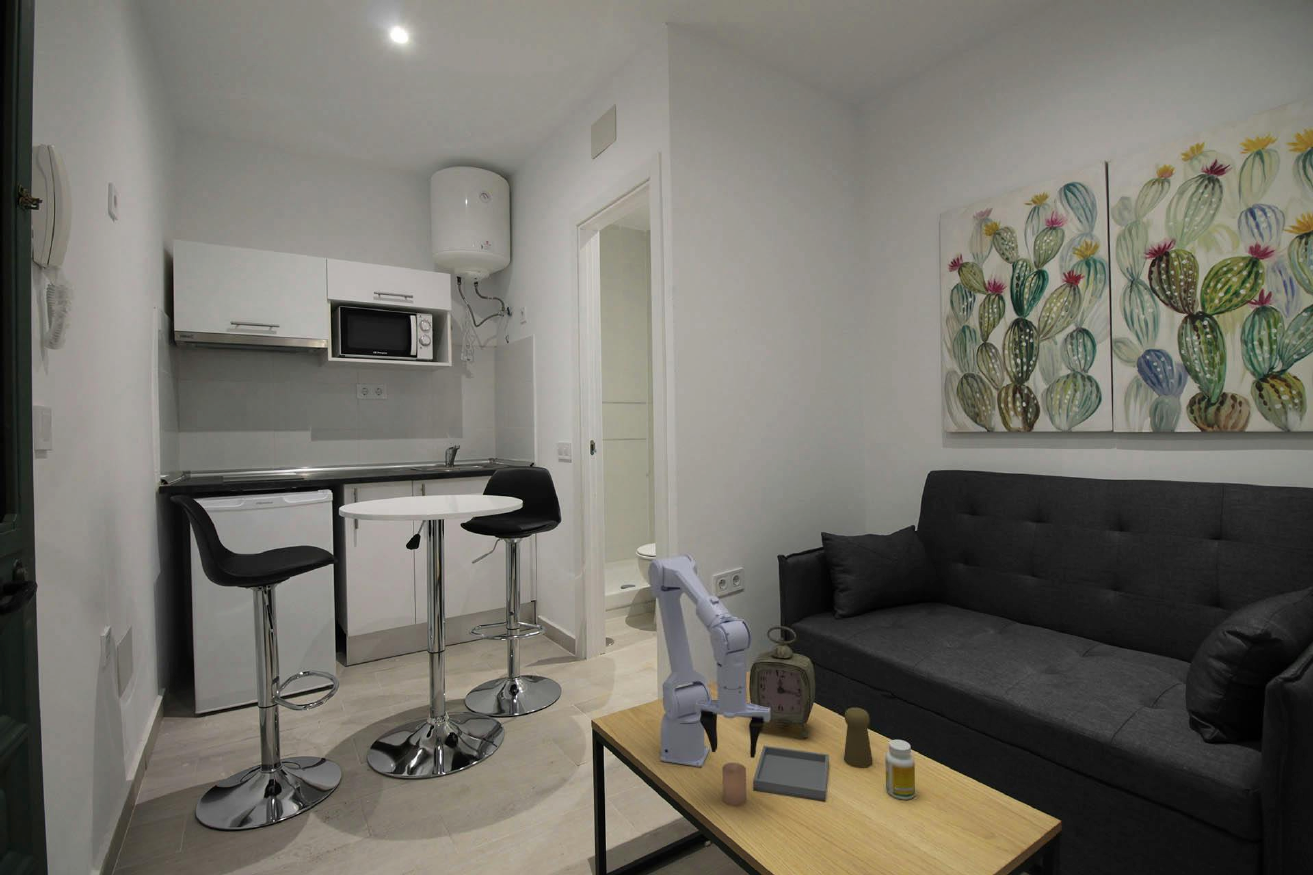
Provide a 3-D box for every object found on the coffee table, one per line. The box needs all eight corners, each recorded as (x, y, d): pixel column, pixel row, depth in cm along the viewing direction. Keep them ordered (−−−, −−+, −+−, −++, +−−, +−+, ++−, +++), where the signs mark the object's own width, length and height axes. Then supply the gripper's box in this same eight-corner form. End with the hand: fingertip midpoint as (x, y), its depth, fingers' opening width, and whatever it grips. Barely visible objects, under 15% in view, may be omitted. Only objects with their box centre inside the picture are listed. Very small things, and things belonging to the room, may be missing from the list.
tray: (753, 789, 123) (753, 779, 123) (763, 754, 136) (763, 745, 136) (825, 801, 118) (825, 791, 118) (828, 763, 132) (828, 754, 131)
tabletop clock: (750, 732, 146) (747, 628, 146) (758, 716, 154) (756, 617, 154) (811, 743, 140) (809, 634, 140) (817, 725, 149) (814, 623, 149)
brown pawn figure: (874, 769, 129) (873, 717, 129) (845, 766, 130) (843, 715, 130) (870, 754, 135) (869, 704, 135) (842, 752, 136) (841, 703, 136)
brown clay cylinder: (720, 804, 118) (720, 773, 118) (725, 790, 123) (724, 760, 123) (744, 807, 117) (743, 776, 117) (748, 794, 121) (747, 764, 121)
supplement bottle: (880, 789, 122) (878, 741, 122) (899, 781, 124) (898, 734, 124) (901, 803, 117) (900, 753, 117) (921, 795, 119) (920, 746, 119)
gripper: (690, 687, 118) (692, 757, 118) (765, 695, 114) (767, 768, 114) (699, 673, 125) (701, 739, 125) (771, 680, 120) (772, 749, 120)
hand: (733, 752), depth 120 cm, fingers open, 7 cm apart
